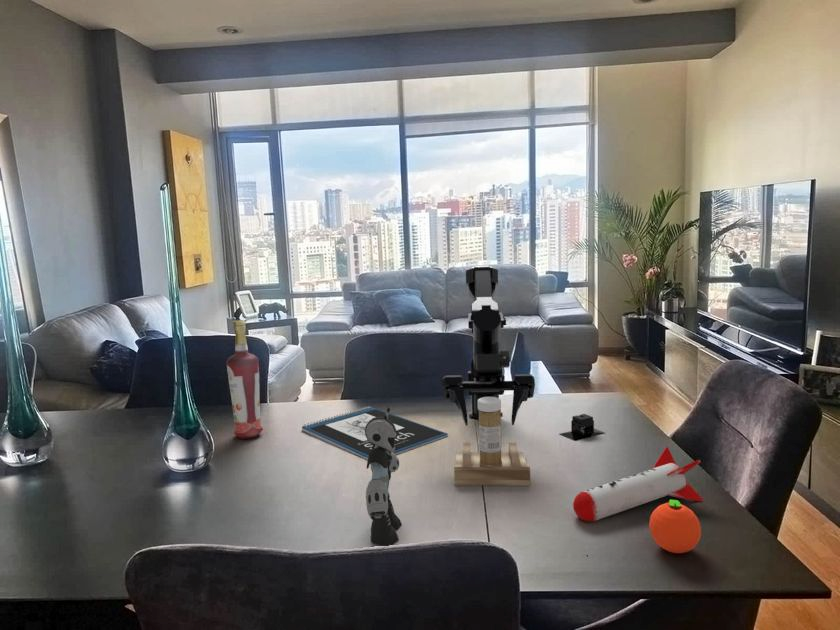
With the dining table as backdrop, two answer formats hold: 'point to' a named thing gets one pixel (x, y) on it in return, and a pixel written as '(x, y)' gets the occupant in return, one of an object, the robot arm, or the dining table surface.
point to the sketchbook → (352, 432)
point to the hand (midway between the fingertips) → (489, 424)
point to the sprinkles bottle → (490, 431)
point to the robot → (381, 480)
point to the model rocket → (636, 490)
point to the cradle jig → (491, 468)
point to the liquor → (244, 386)
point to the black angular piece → (581, 428)
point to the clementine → (675, 527)
